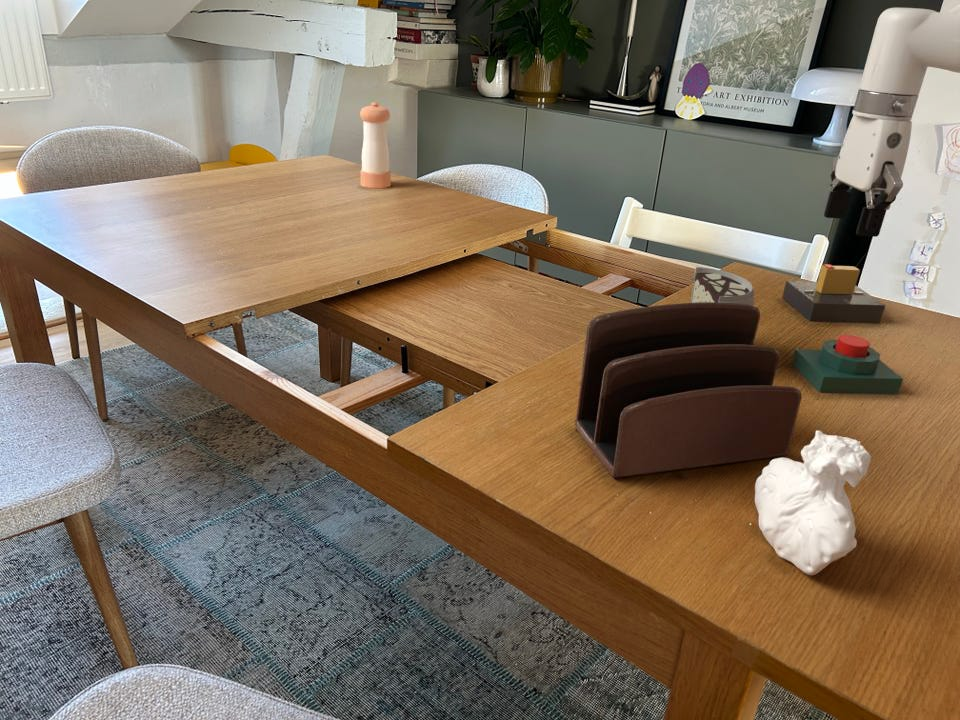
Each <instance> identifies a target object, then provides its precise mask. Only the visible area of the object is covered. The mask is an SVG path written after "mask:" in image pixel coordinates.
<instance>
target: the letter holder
mask: <svg viewBox="0 0 960 720" xmlns="http://www.w3.org/2000/svg"><path fill="white" fill-rule="evenodd" d="M760 319H761V312H760V309H759V308H758V307H757V306H751V305H746V304H736V303H720V302H695V303H691V302H682V303H671V304H670V303H669V304H659V305H650V306H643V307H637V308H630V309H624V310H618V311H613V312H608V313H603V314H600V315H597V316H596V317H594V318H592V319H591V321H589V323H588V325H587V328H586V333H585V334H586V335H585V342H584V350H583V351H584V352H583V359H582V369H581V377H580V382H579V393H578V401H577V408H576V413H575V414H576V415H575V420H574V429H575V431H577V433H579V435H580V436H581V437H582V439H583V440H584V441H585V443H586V444H587V445H588V447H589V449H591V451H592V452H593V454H594V455H595V456H596V457H597V459H598V460H599V462H600V463H601V464H602V466H603V467H604V468H605V470H606V471H607V472H608V473H609V475H610V476H611V477H612V478H613V479H616V478H623V477H632V476H639V475H646V474H647V475H649V474H656V473H664V472H672V471H678V470H687V469H695V468H701V467H711V466H718V465H723V464H724V465H725V464H726V465H727V464H734V463H741V462H747V461H748V462H749V461H756V460H765V459H772V458H783V457H786V456H788V455H789V453H790V449H791V443H792V439H793V435H794V430H795V427H796V423H797V418H798V414H799V410H800V405H801V401H802V392H801V390H799V388H796V387H794V386H788V385H773V383H774V380H775V376H776V371H777V368H778V364H779V361H780V351H779V350H778V348H775V347H773V346H772V347H770V346H764V345H763V346H762V345H754V342H755V339H756V335H757V331H758V328H759V323H760Z"/></svg>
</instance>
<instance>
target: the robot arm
mask: <svg viewBox="0 0 960 720" xmlns="http://www.w3.org/2000/svg"><path fill="white" fill-rule="evenodd" d="M928 67H929V68H935V69H940V70H945V71H948V72H949V71H950V72H952V73H956V74H957V73H958V74H960V3H959V4H958V5H956V6H954V7H953V8H951V9H949V11H944V12H943V11H936V10H933V9H927V8H915V7H889V8H886V9H884V10H883V11H882V13H881V14H880V15H879V17H878V18H877V22H876V25H875V28H874V32H873V36H872V40H871V43H870V46H869V51H868V54H867V57H866V61H865V65H864V69H863V73H862V76H861V80H860V83H859V89H858V90H857V94H856V98H855V102H854V106H853V109H852V115H853V116H852V118H851V119H850V122H849V125H848V127H847V130H846V132H845V136H844V138H843V142H842V144H841V147H840V151H839V154H838V155H837V156H835V157H833V159H832V168H831V169H832V170H831V171H832V172H831V174H830V179H831V183H830V185H829V194H828V198H827V200H826V205H825V209H824V213H823V217H825V218H827V219H845V218H846V217H847V216H846V215H847V212H848V209H849V205H850V202H851V198H852V194H853V192H851V190H852V189H853V188H854V189H856V190H857V191H861V192H864V194H865V202H866V206H863V207H862V210H861V213H860V216H859V219H858V223H857V227H856V230H855V235H856V236H858V237H876V238H877V237H878V236H880V233H881V229H882V226H883V223H884V220H885V217H886V214H887V213H886V212H887V211H889V210H890V208H891V205H892V204H893V203H894V202H895V201H896V199H897V196H898V195H899V193H900V192H901V190H902V188H903V187H904V182H903V180H902V177H903V173H904V169H905V165H906V161H907V156H908V152H909V147H910V143H911V135H912V128H913V127H912V126H913V121H912V119H913V115H914V112H915V108H916V105H917V102H918V99H919V95H920V93H921V89H922V86H923V82H924V79H925V76H926V73H927V69H928ZM875 195H877V196H876V197H875Z"/></svg>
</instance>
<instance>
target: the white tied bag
mask: <svg viewBox="0 0 960 720" xmlns="http://www.w3.org/2000/svg"><path fill="white" fill-rule="evenodd" d="M800 455H801V458H802V461H803V462H801V461H797V460H794V459H791V458H789V457H776V458H774V459H772V460H770V461H769V464H768V465H766V466H765V467H763V468H762V470H761V475H759V476H758V477H757V478H756V481H755V484H754V493H755V494H754V504H755V507H756V510H757V513H758V527H759V530H760V531H761V533H762V535H763V537H764V539H765V540H766V541H767V542H768V544H769V545H771V547H772V548H773V549H774V551H775V553H776V554H777V556H778V557H779V558H781V559H783V560H785V561H787V562H790V563H792V564H793V565H794V566H795V567H796V568H797V569H799V570H800V571H801V572H803V573H804V574H806V575H808V576H815V575H817V574H819V573H820V572H821V571H823V570H824V569H825V568H826V567H827V566H829V565H830V564H832V563H833V562H835V561H837V560H839V559H841V558H842V557H846V556H847V554H849V553H850V552H852V551H853V550H854V549H855V548H856V547H857V545H858V544H857V542H858V541H857V539H856V538H855V535H856V532H857V529H856V524H855V516H854V514H853V512H852V507H851V506H852V504H851V500H850V499H849V497H848V495H847V494H846V491H845V487H844V486H845V485H846V483H848V484H849V485H850V486H851V487H852V488H856V487H857V486H858V484H859V482H860V481H861V480H862V479H863V478H864V477H865V476H867V472H868V470H869V466H870V465H871V462H872V456H871V454H870V453H869V451H867V449H866V448H865V447H864V446H863V445H862V444H861V440H860V441H858V440H857V439H853V438H851V437H846V436H840V435H833V434H832V435H830V434H825V433H823V431H821V430H819V429H817V430H815V433H814V438H813V439H812V440H811V441H810V443H809V444H807V445H804V446H803V448H802V449H801V451H800Z"/></svg>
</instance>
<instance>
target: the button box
mask: <svg viewBox="0 0 960 720" xmlns="http://www.w3.org/2000/svg"><path fill="white" fill-rule="evenodd" d="M837 340H838V339H829V340H826V341H824V342H823V343H822V346H821V349H805V348H804V349H803V348H795V349H794V353H793V356H792V360H791V365H792V366H793V368H795V369H796V370H797V372H798V373H800V375H801V376H802V377H804V379H805V380H806V381H808V383H810V385H811V386H812V387H813V388H814V389H815V390H816V391H817V392H818V393H819V394H823V393H824V394H826V393H827V394H828V393H829V394H864V395H865V394H867V395H868V394H871V395H898V394H899V393H900V389H901V387H902V384H903V381H904V378H903V377H902V376H901V375H900V374H898V373H897V372H895V371H894V370H893V369H892V368H890V367H889V366H888V365H887V364H885V363H884V362H883V361H882V360H880V359H881V355H880V353H879V352H878V351H877V350H875V349H874V348H873V347H871V346H869V349H868V352H867V355H866V357H865V358H856V357H851V356H846V355H843V354H841V353H839V352H837V351H836V350H835V347H836V344H837Z"/></svg>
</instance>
